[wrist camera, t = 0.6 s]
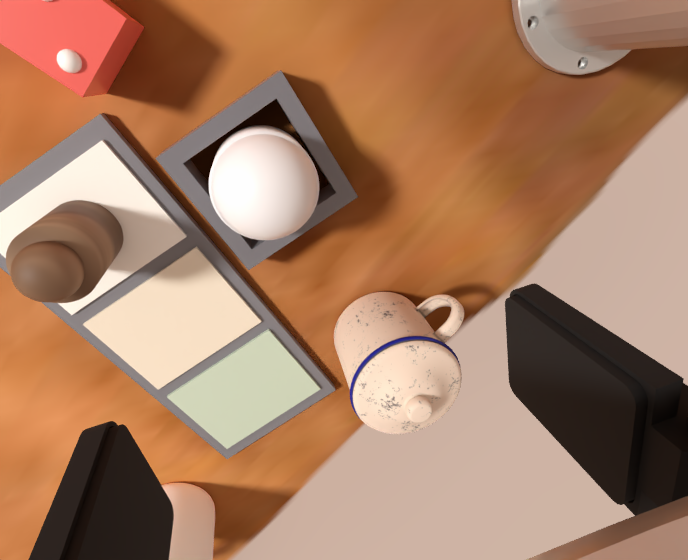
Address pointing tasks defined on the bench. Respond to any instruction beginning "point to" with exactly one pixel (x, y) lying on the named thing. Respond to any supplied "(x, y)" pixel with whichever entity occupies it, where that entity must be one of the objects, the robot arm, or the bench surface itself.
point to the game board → (168, 296)
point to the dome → (263, 183)
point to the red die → (71, 39)
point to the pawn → (64, 252)
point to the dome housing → (224, 121)
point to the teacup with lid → (398, 360)
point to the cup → (191, 522)
